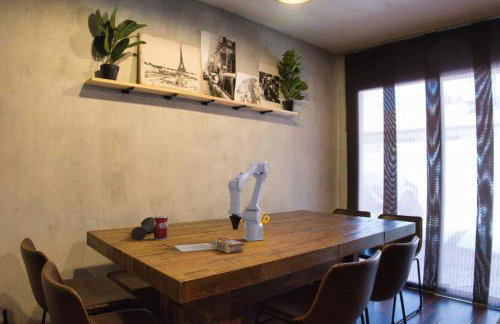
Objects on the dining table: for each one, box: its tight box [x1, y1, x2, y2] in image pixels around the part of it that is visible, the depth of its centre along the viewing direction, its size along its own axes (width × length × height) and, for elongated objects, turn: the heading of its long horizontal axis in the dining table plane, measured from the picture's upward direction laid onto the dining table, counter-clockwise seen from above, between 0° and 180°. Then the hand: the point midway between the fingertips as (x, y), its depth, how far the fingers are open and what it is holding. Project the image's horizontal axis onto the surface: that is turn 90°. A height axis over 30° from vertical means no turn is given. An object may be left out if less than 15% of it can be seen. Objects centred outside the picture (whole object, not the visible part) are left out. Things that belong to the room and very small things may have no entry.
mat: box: [174, 242, 217, 253], centre depth 163 cm, size 17×13×1 cm
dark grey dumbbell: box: [130, 216, 154, 241], centre depth 192 cm, size 11×10×28 cm
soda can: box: [153, 215, 169, 241], centre depth 183 cm, size 7×7×12 cm
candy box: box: [211, 237, 245, 254], centre depth 160 cm, size 9×4×15 cm
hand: (235, 229), depth 172 cm, fingers closed
